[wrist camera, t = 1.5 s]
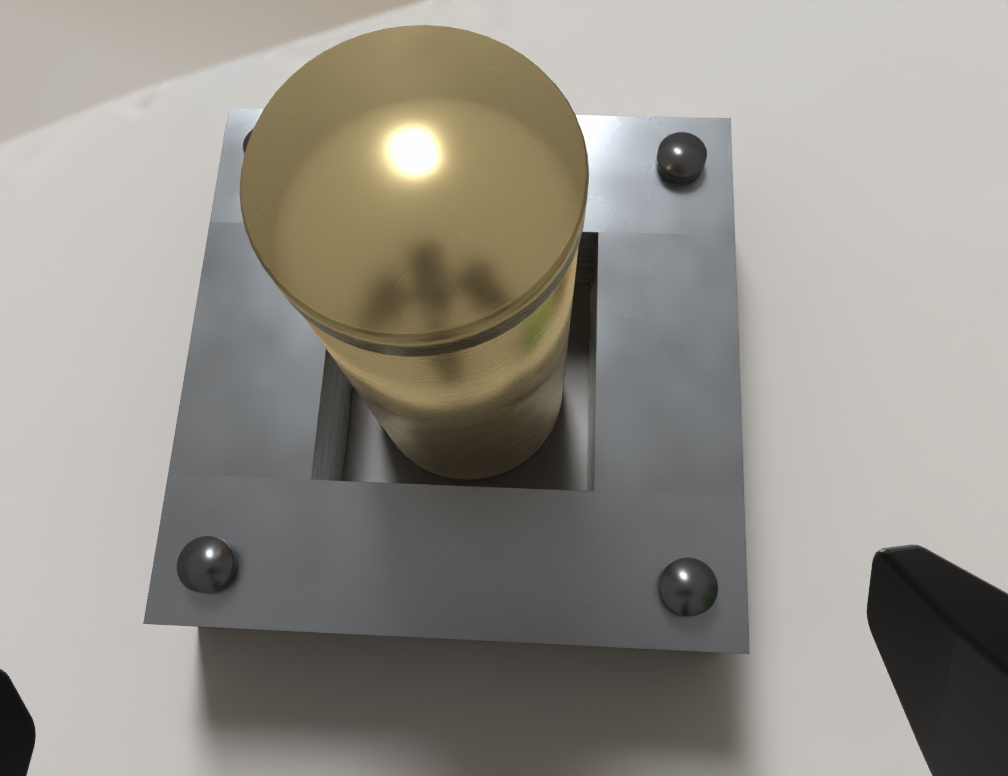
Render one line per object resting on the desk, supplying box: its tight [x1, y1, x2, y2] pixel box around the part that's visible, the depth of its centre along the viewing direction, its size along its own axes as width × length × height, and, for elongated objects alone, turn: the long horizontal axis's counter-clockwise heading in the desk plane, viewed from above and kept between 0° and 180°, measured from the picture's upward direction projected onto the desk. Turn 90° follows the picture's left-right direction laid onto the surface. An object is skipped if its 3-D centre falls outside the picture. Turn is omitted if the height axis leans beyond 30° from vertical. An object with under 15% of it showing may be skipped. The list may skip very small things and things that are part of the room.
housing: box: [143, 109, 749, 654], centre depth 21 cm, size 13×13×3 cm
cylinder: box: [240, 25, 589, 480], centre depth 17 cm, size 5×5×11 cm
